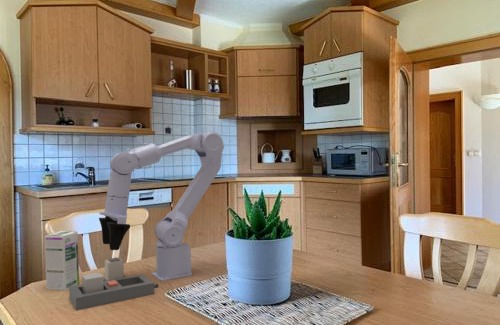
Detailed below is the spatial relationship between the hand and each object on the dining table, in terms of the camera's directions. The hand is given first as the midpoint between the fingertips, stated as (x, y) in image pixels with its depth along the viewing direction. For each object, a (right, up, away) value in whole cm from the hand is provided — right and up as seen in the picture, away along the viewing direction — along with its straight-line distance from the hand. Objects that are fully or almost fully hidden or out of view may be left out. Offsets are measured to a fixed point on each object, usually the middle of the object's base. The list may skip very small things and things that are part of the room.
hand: (110, 246), depth 104 cm
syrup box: (-12, -11, -2) cm, 16 cm away
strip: (+5, -10, -9) cm, 14 cm away
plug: (+1, -10, +1) cm, 10 cm away
